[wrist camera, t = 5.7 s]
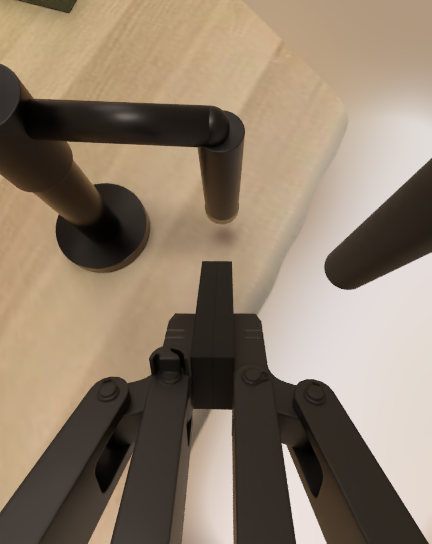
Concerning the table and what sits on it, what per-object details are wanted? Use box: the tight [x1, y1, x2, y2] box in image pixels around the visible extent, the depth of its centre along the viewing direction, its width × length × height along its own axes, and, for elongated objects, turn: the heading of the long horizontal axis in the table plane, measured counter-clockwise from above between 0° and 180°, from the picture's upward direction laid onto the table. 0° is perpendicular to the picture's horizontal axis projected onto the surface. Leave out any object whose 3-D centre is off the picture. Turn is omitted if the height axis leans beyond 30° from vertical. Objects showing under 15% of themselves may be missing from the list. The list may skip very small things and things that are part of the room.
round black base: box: [33, 160, 150, 272], centre depth 28 cm, size 9×9×12 cm
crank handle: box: [0, 64, 245, 224], centre depth 21 cm, size 16×4×12 cm, turn 86°
